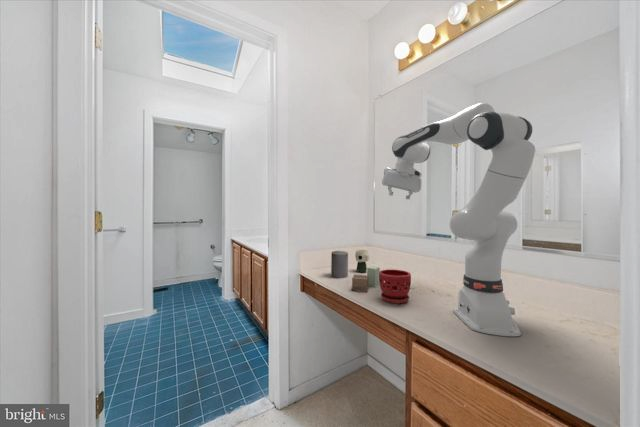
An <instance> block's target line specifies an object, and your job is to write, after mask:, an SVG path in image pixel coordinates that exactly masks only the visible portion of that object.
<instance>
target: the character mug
mask: <svg viewBox="0 0 640 427" xmlns="http://www.w3.org/2000/svg"><path fill="white" fill-rule="evenodd" d="M354 257H355V260H356V262H357V265H356V272H359V273H365V272H367V268H368V266H367V263H366V262H368V260H369V253H368V250H367V249H356V250H355V256H354Z"/></svg>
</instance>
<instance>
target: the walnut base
mask: <svg viewBox="0 0 640 427" xmlns="http://www.w3.org/2000/svg"><path fill="white" fill-rule="evenodd" d="M351 279H352V280H351V284H352V285H351V286H352V287H351V291H353V292H362V293H363V292H364V293H367V292H368V290H369V287H370V286H369V275H365V274H353V276H352V277H351Z"/></svg>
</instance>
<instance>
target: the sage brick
mask: <svg viewBox="0 0 640 427" xmlns="http://www.w3.org/2000/svg"><path fill="white" fill-rule="evenodd" d="M380 271H381V269H380V267H378V266H373V265H371V266H367V271H366V272H367V273H366V274H367V275H369V287H372V288H376V287H378V286H379V287H380V283H379V272H380Z"/></svg>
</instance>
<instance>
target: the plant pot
mask: <svg viewBox="0 0 640 427" xmlns="http://www.w3.org/2000/svg"><path fill="white" fill-rule="evenodd" d="M379 283H380V285H379V287H380V290H381V294H380V297H381V298H382V300H383V301H386V302H388V303H392V304H404V303H407V302H408V301H409V299H410V296H409V295H408V294H409V292H410V290H411V289H410V287H411V285H412V275H411V273H410V272H409V271H406V270H401V269H382V270H380V272H379Z"/></svg>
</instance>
